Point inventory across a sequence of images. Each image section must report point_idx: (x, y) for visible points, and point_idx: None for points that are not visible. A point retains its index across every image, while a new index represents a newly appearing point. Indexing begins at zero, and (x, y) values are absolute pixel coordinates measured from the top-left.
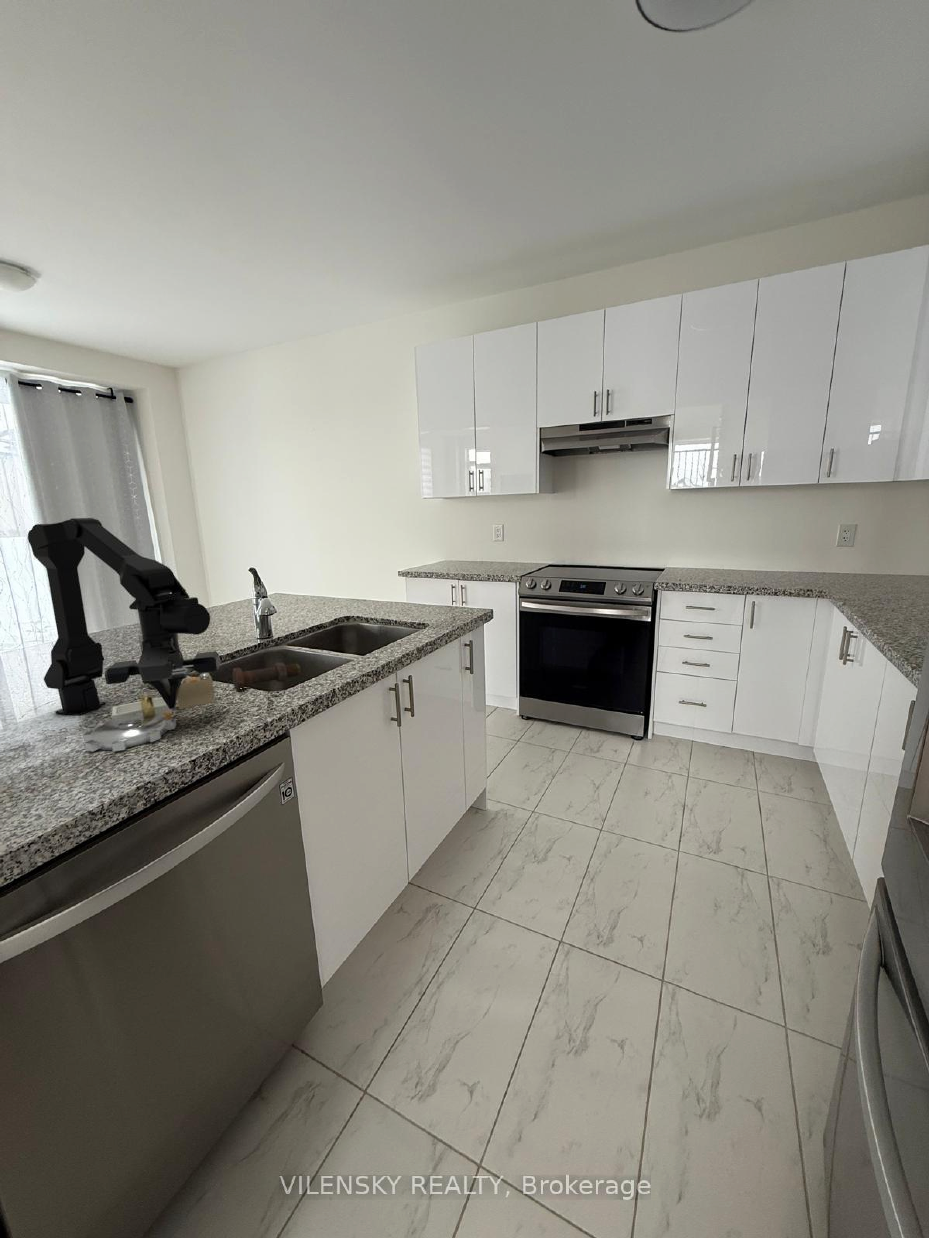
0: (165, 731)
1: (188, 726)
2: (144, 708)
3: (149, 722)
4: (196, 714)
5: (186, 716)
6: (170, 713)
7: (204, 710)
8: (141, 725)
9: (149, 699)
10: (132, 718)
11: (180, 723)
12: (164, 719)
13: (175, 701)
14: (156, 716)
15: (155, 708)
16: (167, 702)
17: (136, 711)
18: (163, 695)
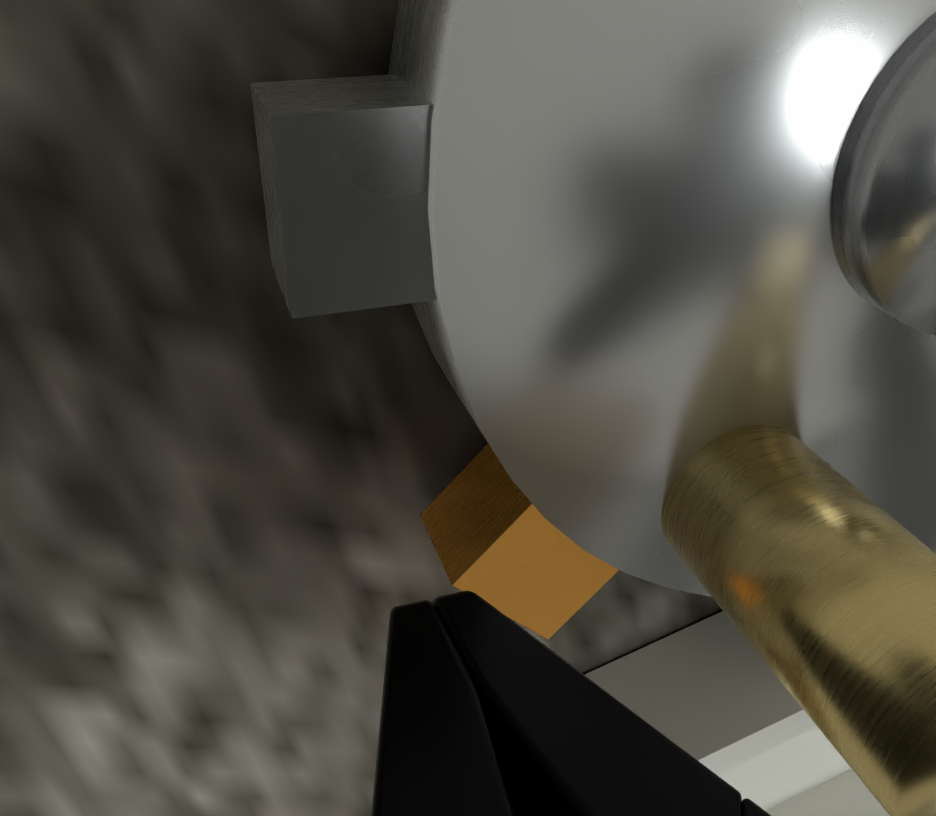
0: (396, 37)
1: (46, 235)
2: (893, 528)
3: (718, 214)
4: (127, 685)
5: (260, 636)
6: (456, 580)
7: (59, 794)
8: (830, 108)
9: (919, 691)
10: (928, 459)
11: (261, 408)
12: (485, 290)
13: (382, 731)
14: (640, 468)
15: (684, 742)
16: (538, 677)
17: None
18: (684, 804)
